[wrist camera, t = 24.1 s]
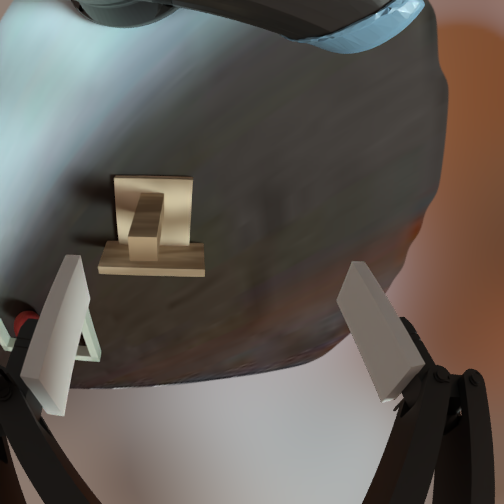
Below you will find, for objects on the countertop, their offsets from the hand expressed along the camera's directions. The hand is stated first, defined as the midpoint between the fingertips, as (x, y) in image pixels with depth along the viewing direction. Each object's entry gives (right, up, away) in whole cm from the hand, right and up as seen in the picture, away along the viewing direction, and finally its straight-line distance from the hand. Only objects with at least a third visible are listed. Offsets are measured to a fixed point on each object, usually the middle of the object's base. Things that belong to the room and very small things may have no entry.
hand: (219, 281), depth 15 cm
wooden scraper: (-12, +6, +27) cm, 30 cm away
